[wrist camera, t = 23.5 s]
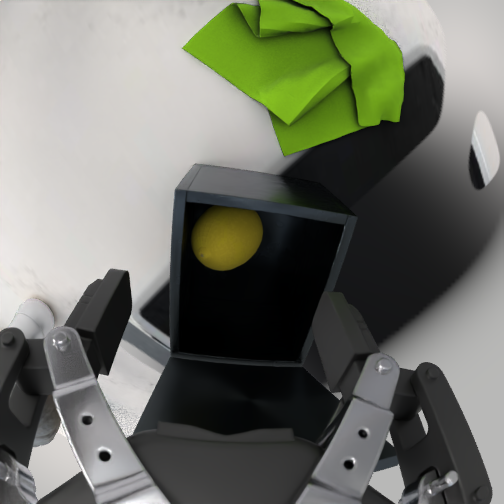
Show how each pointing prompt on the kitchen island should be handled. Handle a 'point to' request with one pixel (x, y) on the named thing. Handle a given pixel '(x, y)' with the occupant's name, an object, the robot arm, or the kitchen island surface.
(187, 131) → the kitchen island surface
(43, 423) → the gourd
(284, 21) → the cloth
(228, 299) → the box
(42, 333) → the silver bottle
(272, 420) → the caddy lid
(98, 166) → the kitchen island surface
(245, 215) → the lemon
